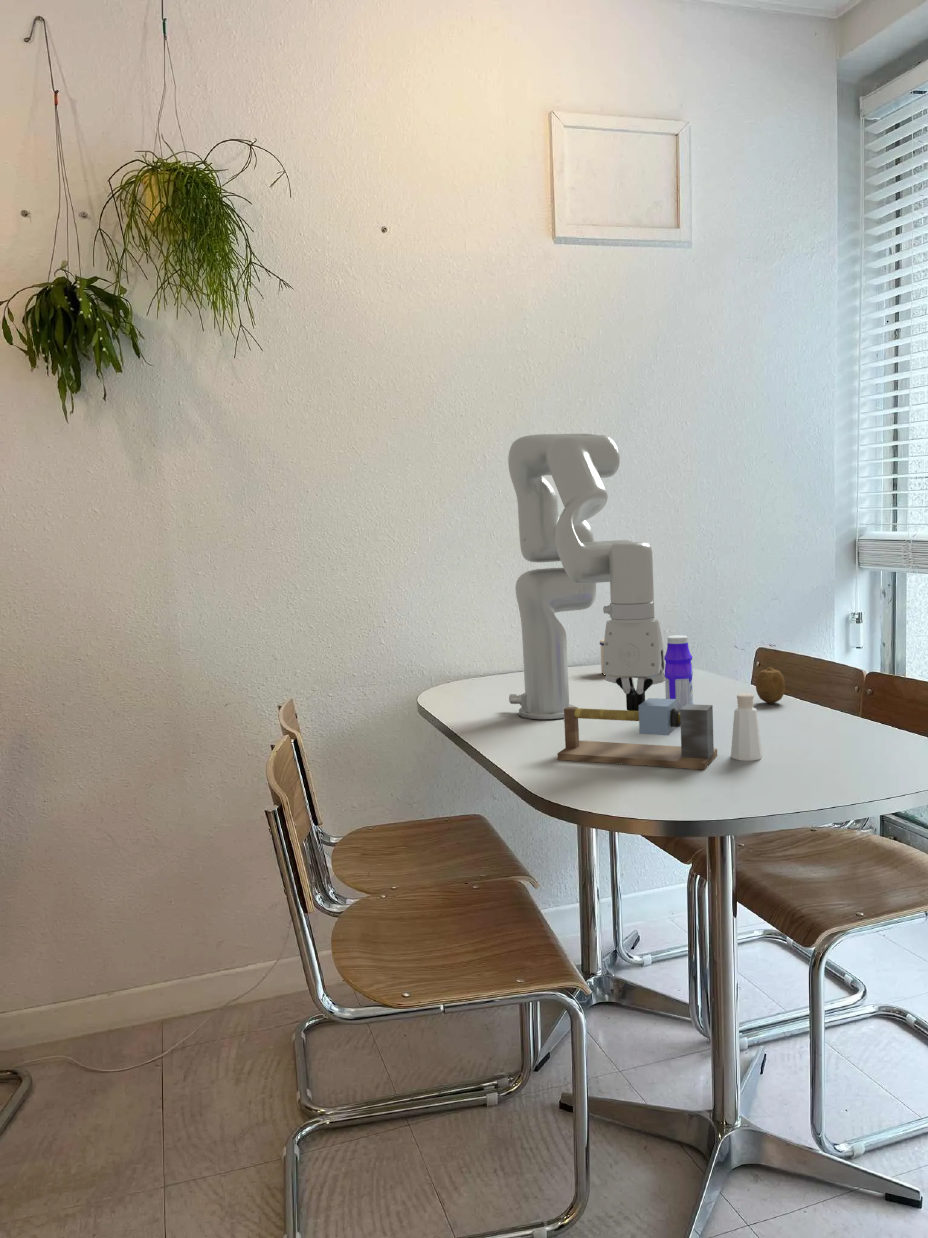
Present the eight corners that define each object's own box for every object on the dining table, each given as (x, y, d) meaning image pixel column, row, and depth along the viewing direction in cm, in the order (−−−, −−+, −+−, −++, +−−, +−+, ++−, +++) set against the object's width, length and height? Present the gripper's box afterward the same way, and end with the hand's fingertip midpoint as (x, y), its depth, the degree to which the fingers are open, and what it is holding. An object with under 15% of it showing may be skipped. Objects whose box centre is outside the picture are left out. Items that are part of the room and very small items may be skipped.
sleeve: (639, 733, 168) (638, 705, 168) (649, 725, 174) (648, 698, 173) (668, 735, 166) (667, 706, 165) (677, 727, 172) (676, 699, 171)
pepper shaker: (727, 754, 171) (725, 692, 170) (758, 752, 171) (756, 690, 170) (734, 762, 166) (733, 698, 165) (766, 760, 166) (765, 696, 165)
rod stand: (557, 759, 174) (555, 707, 172) (576, 746, 182) (574, 696, 181) (704, 770, 162) (703, 713, 161) (717, 755, 171) (715, 702, 170)
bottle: (694, 724, 196) (692, 638, 194) (665, 724, 197) (663, 638, 195) (693, 716, 203) (691, 633, 201) (665, 716, 204) (663, 634, 202)
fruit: (782, 700, 214) (781, 664, 213) (788, 706, 208) (788, 668, 207) (753, 701, 215) (752, 665, 214) (758, 707, 209) (758, 670, 208)
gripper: (585, 615, 172) (589, 717, 174) (668, 614, 165) (672, 721, 167) (599, 610, 179) (602, 708, 181) (680, 610, 172) (683, 712, 174)
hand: (636, 714), depth 174 cm, fingers closed
